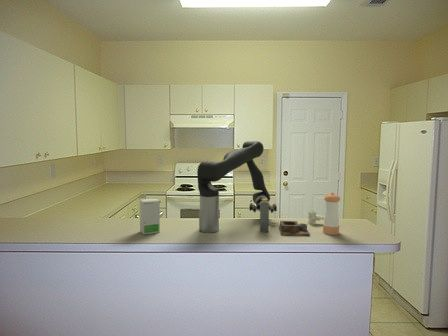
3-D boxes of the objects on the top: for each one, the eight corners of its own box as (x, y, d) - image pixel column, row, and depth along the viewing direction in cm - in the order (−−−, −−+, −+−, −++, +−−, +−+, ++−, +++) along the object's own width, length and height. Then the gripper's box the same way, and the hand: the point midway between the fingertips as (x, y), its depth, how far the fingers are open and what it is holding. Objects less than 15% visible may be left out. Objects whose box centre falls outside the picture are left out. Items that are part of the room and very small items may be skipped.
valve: (308, 225, 162) (332, 226, 160) (308, 212, 162) (333, 213, 160) (307, 221, 169) (330, 222, 167) (307, 209, 168) (331, 210, 166)
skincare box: (143, 235, 147) (141, 202, 145) (139, 231, 153) (138, 199, 151) (160, 232, 151) (159, 200, 149) (156, 228, 157) (156, 197, 155)
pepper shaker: (335, 236, 146) (336, 195, 143) (320, 232, 150) (321, 192, 148) (341, 232, 151) (343, 192, 149) (326, 229, 156) (328, 190, 154)
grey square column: (260, 231, 151) (260, 199, 150) (259, 229, 155) (260, 198, 154) (268, 232, 151) (269, 200, 149) (268, 229, 155) (268, 198, 153)
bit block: (280, 235, 147) (281, 226, 146) (278, 227, 159) (278, 219, 158) (309, 235, 146) (309, 227, 145) (305, 228, 157) (305, 220, 157)
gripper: (249, 196, 178) (249, 203, 162) (275, 197, 177) (277, 203, 161) (249, 209, 179) (249, 217, 163) (274, 210, 178) (277, 218, 162)
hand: (263, 210), depth 162 cm, fingers open, 8 cm apart
